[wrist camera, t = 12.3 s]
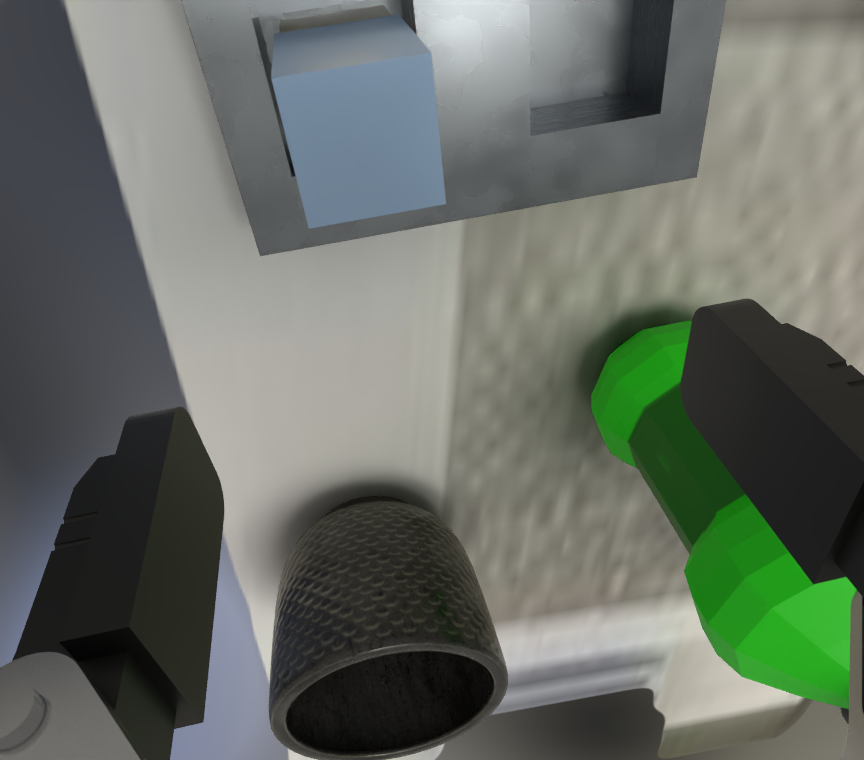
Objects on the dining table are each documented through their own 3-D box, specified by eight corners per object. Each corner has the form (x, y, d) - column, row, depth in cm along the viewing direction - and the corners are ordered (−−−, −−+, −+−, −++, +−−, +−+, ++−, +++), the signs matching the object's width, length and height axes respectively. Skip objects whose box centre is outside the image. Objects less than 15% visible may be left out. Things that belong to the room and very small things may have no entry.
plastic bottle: (636, 268, 36) (1037, 707, 17) (753, 328, 41) (1172, 728, 22) (537, 394, 41) (764, 851, 22) (652, 435, 46) (922, 843, 26)
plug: (386, 0, 25) (431, 52, 18) (401, 115, 28) (446, 204, 21) (274, 17, 25) (271, 78, 17) (301, 132, 28) (308, 228, 20)
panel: (694, -163, 24) (755, -169, 21) (656, 148, 32) (697, 177, 29) (171, -90, 23) (154, -85, 20) (262, 218, 30) (260, 257, 27)
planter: (430, 590, 52) (464, 757, 43) (258, 586, 48) (251, 771, 38) (488, 472, 45) (547, 642, 35) (290, 455, 40) (292, 644, 30)
